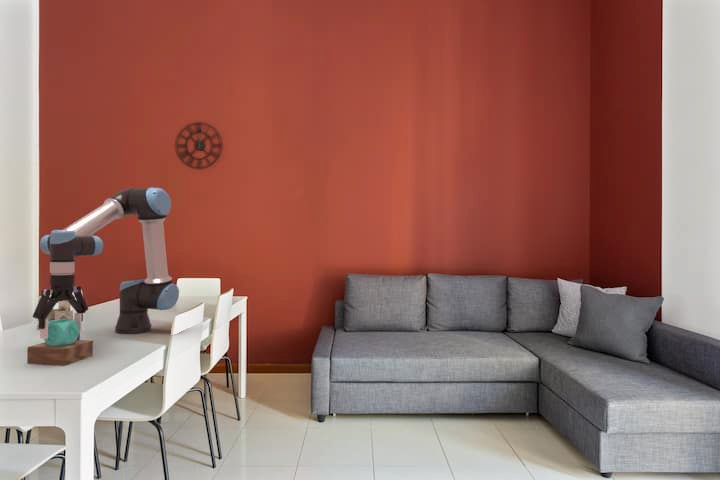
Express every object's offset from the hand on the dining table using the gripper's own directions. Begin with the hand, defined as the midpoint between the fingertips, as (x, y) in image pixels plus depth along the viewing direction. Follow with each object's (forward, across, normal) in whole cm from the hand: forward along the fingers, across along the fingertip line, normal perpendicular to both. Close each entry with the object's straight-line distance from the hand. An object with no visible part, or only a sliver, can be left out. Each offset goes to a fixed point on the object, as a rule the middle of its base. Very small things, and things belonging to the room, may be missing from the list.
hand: (61, 334), depth 179 cm
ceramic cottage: (+9, -41, -49) cm, 65 cm away
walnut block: (+9, 0, 0) cm, 9 cm away
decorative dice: (+3, 0, 0) cm, 3 cm away
